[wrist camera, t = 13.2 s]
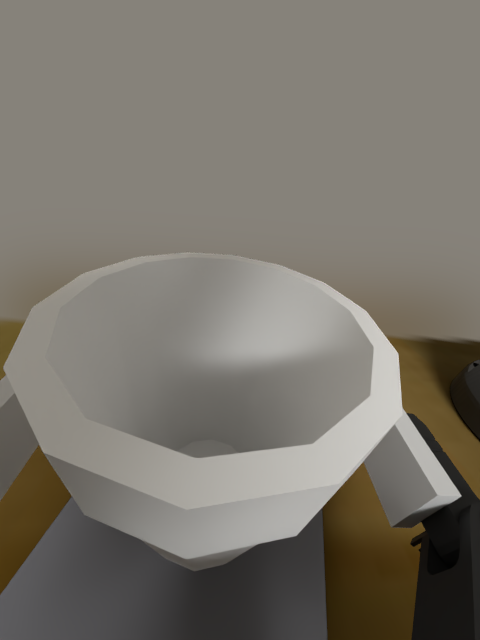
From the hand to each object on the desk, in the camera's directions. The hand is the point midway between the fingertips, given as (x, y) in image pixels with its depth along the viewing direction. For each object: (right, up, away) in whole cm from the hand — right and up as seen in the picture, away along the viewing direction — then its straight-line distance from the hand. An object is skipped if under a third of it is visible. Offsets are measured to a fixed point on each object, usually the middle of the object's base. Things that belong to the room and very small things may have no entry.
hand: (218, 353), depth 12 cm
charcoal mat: (-1, -9, +2) cm, 9 cm away
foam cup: (-1, -9, +2) cm, 9 cm away
